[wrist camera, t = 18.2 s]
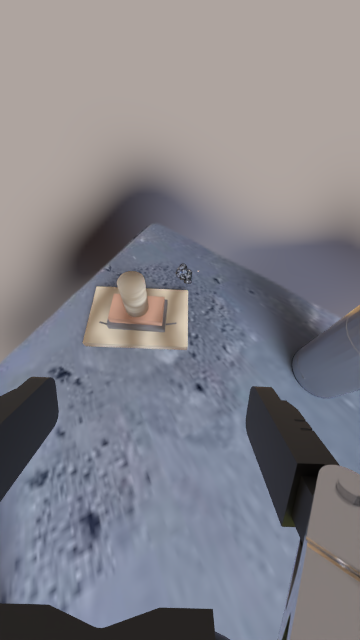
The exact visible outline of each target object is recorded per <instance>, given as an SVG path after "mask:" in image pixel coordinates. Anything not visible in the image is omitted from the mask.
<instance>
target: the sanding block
mask: <svg viewBox="0 0 360 640" xmlns="http://www.w3.org/2000/svg"><path fill="white" fill-rule="evenodd" d="M117 286H118V289H119V292H120V294H114V295H113V299H112V303H111V307H110V311H109V316H108V320H107V327H108V328H109V329H123V330H137V331H152V332H165V325H166V315H167V305H168V300H166V299H164V297H157V296H147V292H146V285H145V279H144V277H143V276H142V274H140V273H138V272H135V271H128V272H125V273H123V274H122V275H120V277H119V278H118V280H117Z"/></svg>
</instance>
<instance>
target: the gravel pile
mask: <svg viewBox="0 0 360 640" xmlns="http://www.w3.org/2000/svg"><path fill="white" fill-rule="evenodd" d="M198 272H199V271H198ZM176 274H177V275H176V276H177V277H178V278H180V280H184V283H188V284H190V283H191V282H192V281H191V277H192V271H191V270H188V269H187V266H186V265H185V264H181V265H180V267H179V268H178V270H177V272H176Z"/></svg>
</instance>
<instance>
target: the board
mask: <svg viewBox="0 0 360 640" xmlns="http://www.w3.org/2000/svg"><path fill="white" fill-rule="evenodd" d="M146 292H147V296H157V297H164V299H166V300H168V305H167V315H166V325H165V332H152V331H137V330H123V329H109V328H108V327H107V320H108V316H109V311H110V307H111V303H112V299H113V295H114V294H120V292H119V289H118V287H99V286H97V287H96V291H95V295H94V299H93V303H92V307H91V311H90V315H89V319H88V323H87V327H86V331H85V335H84V339H83V344H84V345H85V346H94V347H120V348H147V349H174V350H187V346H188V290H169V289H146Z"/></svg>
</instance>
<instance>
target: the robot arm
mask: <svg viewBox="0 0 360 640" xmlns="http://www.w3.org/2000/svg"><path fill="white" fill-rule="evenodd" d="M292 367H293V372H294V375H295V377H296V379H297V381H298V382H299V383H300V385H301V386H302V387H303V388H304V389H305V390H307V391H308V392H310V393H311V394H313V395H315V396H317V397H321V398H333V397H337V396H340V395H344V394H347V393H351V392H354V391H358V390H360V305H359V306H358V307H356V308H355V309H354V310H352V311H351V312H350V313H348V314H347V315H346V316H344V317H343V318H341V319H340V320H339V321H337V322H336V323H335V324H333V325H332V326H331V327H329V328H328V329H327V330H325V331H324V332H323V333H321V334H320V335H319V336H317V337H316V338H314V339H313V340H312V341H310V342H309V343H308V344H306V345H305V346H304V347H302V348H301V349H300V350H298V351H297V352H296V354H295V355H294V358H293V362H292ZM58 412H59V410H58V401H57V393H56V385H55V380H54V379H53V378H50V377H31V378H29V379H28V380H27V381H25V382H24V383H23V384H22V385H21V386H19V387H18V388H17V389H14V390H12V391H10V392H8V393H6V394H4V395H2V396H0V501H1V500H2V499H3V497H4V496H5V494H6V493H7V492H8V490H9V489H10V487H11V486H12V485H13V483H14V482H15V481H16V479H17V478H18V476H19V475H20V474H21V472H22V471H23V469H24V468H25V467H26V465H27V464H28V462H29V461H30V460H31V458H32V457H33V456H34V454H35V453H36V451H37V450H38V449H39V447H40V446H41V444H42V443H43V442H44V440H45V439H46V437H47V436H48V435H49V433H50V432H51V431H52V429H53V428H54V426H55V424H56V422H57V419H58ZM246 430H247V435H248V438H249V440H250V443H251V446H252V448H253V451H254V454H255V456H256V459H257V462H258V464H259V467H260V470H261V472H262V475H263V478H264V480H265V483H266V486H267V488H268V491H269V494H270V497H271V499H272V502H273V505H274V507H275V510H276V513H277V515H278V518H279V521H280V523H281V526H282V527H296V529H297V532H298V534H299V536H300V540H299V544H298V548H297V553H296V557H295V562H294V567H293V571H292V576H291V581H290V585H289V590H288V595H287V599H286V604H285V609H284V613H283V618H282V622H281V627H280V631H279V635H278V639H277V640H360V475H359V474H358V473H356V472H354V471H352V470H350V469H348V468H345V467H342V466H340V465H339V464H338V463H337V461H336V460H335V459H334V457H333V456H332V455H331V453H330V452H329V451H328V449H327V448H326V447H325V445H324V444H323V443H322V441H321V440H320V439H319V437H318V436H317V435H316V433H315V432H314V431H312V428H311V427H310V425H309V424H308V423H307V422H306V421H305V419H304V417H303V416H302V415H301V413H300V412H299V411H298V409H296V408H295V407H294V406H292V405H291V404H290V403H288V402H287V401H284V400H280V398H279V397H278V395H277V394H276V392H275V391H274V389H273V388H272V387H255V386H253V387H252V388H251V390H250V395H249V402H248V408H247V415H246ZM0 640H230V639H228V638H227V637H225V636H223V635H221V634H219V633H217V632H215V629H214V618H213V609H190V608H157V609H155V610H152V611H149V612H146V613H144V614H141V615H138V616H135V617H133V618H130V619H127V620H124V621H122V622H119V623H116V624H113V625H111V626H108V627H105V628H96V627H93V626H91V625H89V624H87V623H85V622H83V621H81V620H79V619H77V618H75V617H73V616H71V615H69V614H67V613H65V612H63V611H61V610H59V609H56V608H54V607H52V606H50V605H39V604H2V603H0Z"/></svg>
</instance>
